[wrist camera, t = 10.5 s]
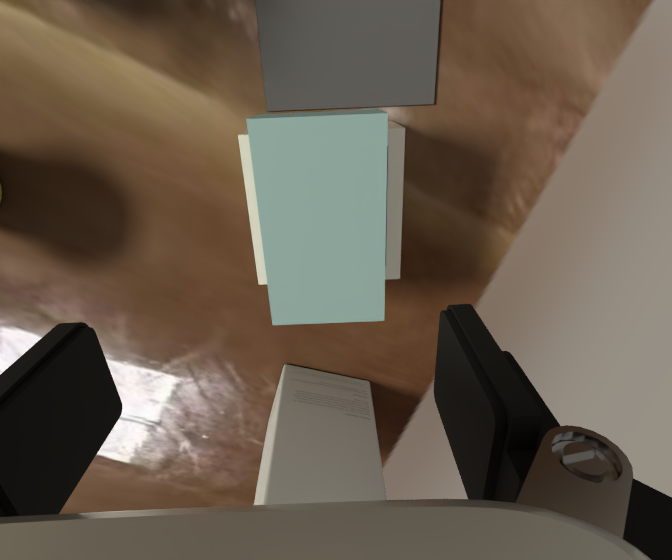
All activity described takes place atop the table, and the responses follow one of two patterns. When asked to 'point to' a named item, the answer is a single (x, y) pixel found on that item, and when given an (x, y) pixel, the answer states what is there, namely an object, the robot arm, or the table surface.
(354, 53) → the mat
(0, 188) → the plant pot
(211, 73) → the table surface
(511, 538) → the robot arm
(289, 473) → the supplement box
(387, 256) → the white open-top box
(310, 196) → the teal rectangular block
